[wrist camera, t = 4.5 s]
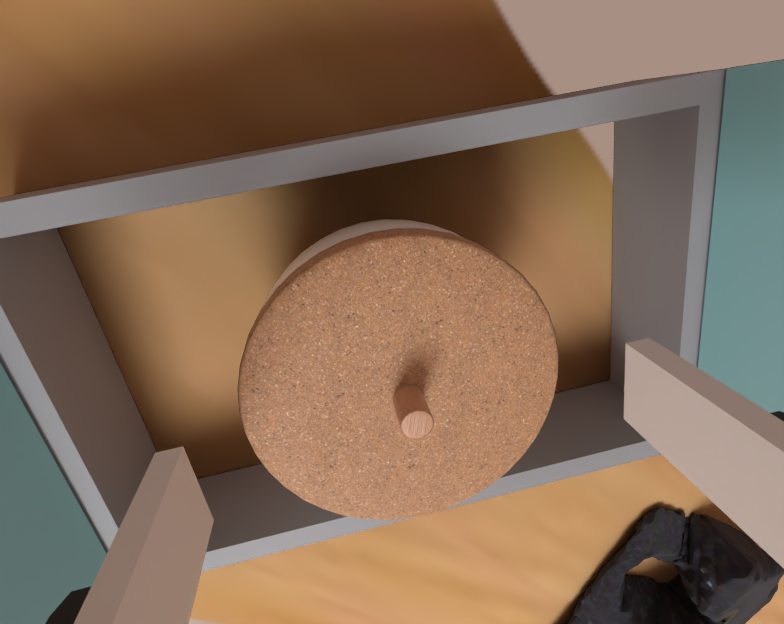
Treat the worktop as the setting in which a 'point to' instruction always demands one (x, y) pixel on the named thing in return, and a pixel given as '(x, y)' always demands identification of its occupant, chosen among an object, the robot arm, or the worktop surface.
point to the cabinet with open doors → (361, 151)
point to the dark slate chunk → (682, 575)
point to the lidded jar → (396, 371)
